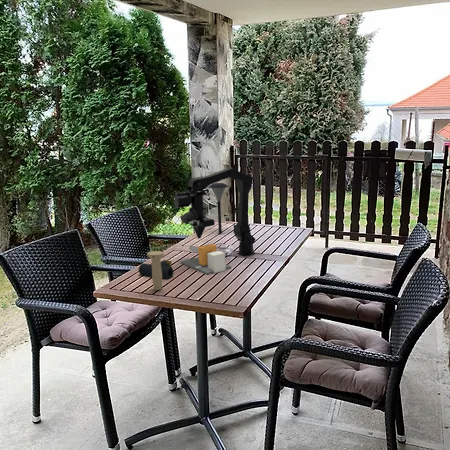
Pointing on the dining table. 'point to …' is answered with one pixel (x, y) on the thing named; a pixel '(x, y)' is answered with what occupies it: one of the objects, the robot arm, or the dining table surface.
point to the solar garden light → (218, 199)
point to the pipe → (194, 249)
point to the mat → (200, 266)
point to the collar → (205, 253)
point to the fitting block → (216, 261)
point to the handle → (156, 268)
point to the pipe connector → (165, 267)
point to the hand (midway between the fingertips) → (199, 238)
